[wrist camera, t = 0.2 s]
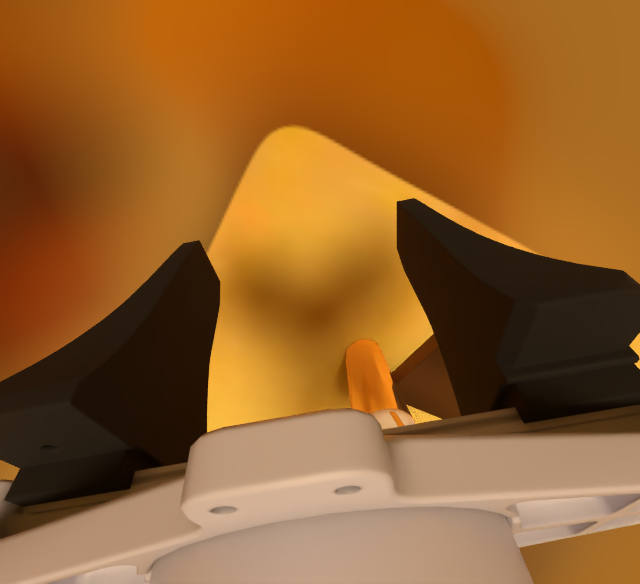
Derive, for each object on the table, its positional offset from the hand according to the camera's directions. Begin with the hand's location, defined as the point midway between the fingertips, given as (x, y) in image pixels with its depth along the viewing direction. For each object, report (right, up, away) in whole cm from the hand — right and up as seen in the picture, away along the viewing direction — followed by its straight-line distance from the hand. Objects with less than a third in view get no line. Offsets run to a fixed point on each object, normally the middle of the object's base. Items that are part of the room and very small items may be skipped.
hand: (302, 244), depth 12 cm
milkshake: (+5, -7, +18) cm, 20 cm away
